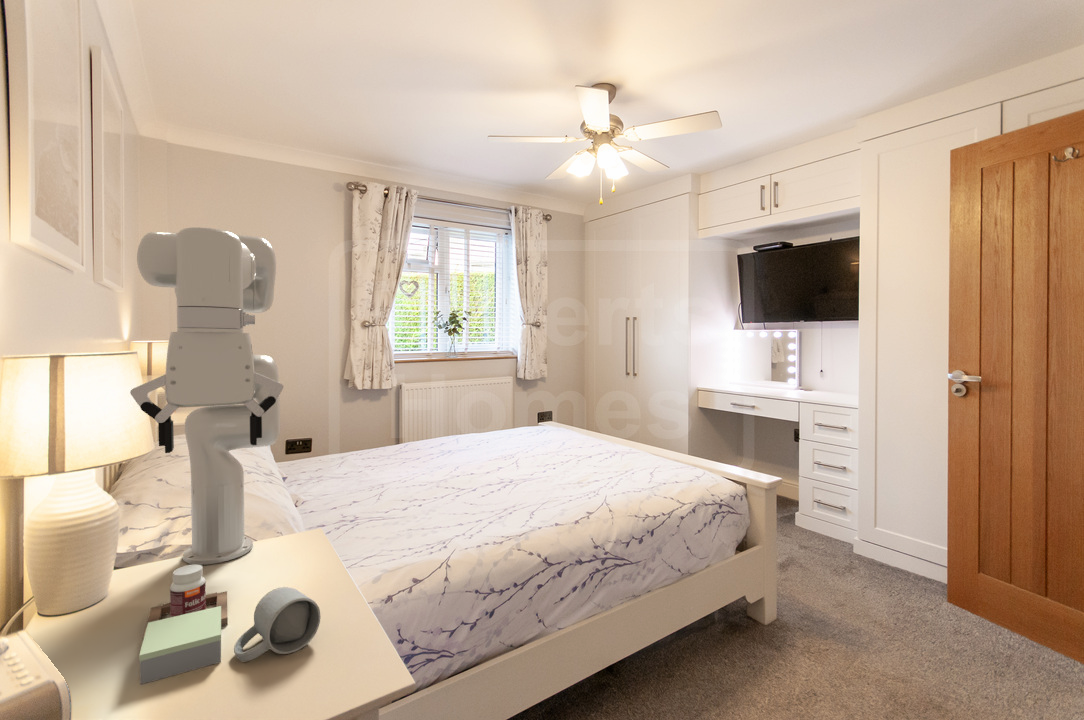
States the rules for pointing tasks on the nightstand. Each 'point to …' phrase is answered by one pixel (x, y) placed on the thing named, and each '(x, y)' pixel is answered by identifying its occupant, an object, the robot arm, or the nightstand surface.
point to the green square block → (180, 644)
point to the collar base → (210, 599)
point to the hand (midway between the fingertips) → (212, 447)
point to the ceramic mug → (281, 624)
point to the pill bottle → (187, 590)
